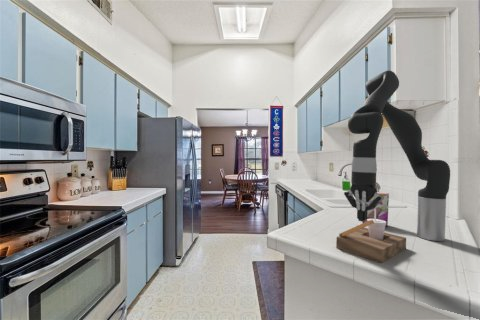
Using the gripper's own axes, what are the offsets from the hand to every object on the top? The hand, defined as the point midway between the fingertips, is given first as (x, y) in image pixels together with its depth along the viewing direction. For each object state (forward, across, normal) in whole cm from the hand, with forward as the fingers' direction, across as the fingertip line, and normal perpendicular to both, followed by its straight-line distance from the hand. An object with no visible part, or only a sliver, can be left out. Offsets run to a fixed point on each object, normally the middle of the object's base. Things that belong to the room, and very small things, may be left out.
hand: (362, 221), depth 80 cm
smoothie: (+11, 0, +12) cm, 16 cm away
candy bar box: (+11, -14, +44) cm, 48 cm away
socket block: (+11, 0, +8) cm, 14 cm away
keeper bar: (+4, -2, 0) cm, 4 cm away
